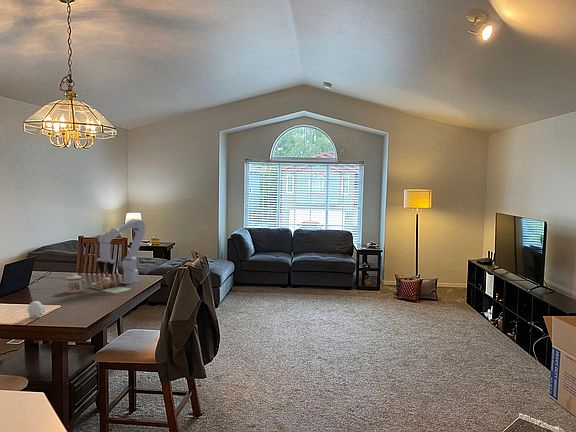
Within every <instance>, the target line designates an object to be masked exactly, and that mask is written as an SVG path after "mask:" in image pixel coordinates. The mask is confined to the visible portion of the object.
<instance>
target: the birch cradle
mask: <svg viewBox="0 0 576 432" xmlns="http://www.w3.org/2000/svg"><path fill="white" fill-rule="evenodd" d="M117 285H118V283H117V282H115V281H110V287H112V288H114V287H118V286H117ZM89 289H94V290H99V291H102V290H104V288H103V286H101V285H100V281H97V282H93V283H89Z"/></svg>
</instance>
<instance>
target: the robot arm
mask: <svg viewBox="0 0 576 432" xmlns="http://www.w3.org/2000/svg"><path fill="white" fill-rule="evenodd" d="M145 227H146V223H145V221H144V220H143V219H137V218H136V219H135V218H132V219H130V220H128V221H127V222H125V223H124V224H122V225H121V226H119V227H117V228H114V227H112V228H111V229H110V230H109V231H106V232H105V233H101V234H100V235H99V237H98V239H97V240H98V242H99V247H100V248H99V249H100V251H99V252H100V255H99V256H100V257H97V258H96V261H97V262H96V265H97V266H98V269H99V272H100V273H104V272H105V267H106V271H107V273H106V274H107V275H110V274H112V271H113V268H114V266H115V260H114V259H111V253H110V247H111V246H110V243H111V241H112V240H114V239H115V238H118V237H119V236H120V235H121V233H122V232H125V231H126V230H129V229H132V230H133V231H134V233H135V235H134V237H133V240H132V243H131V245H130V249H129V251H128V254H127V255H126V256H125V257H124V259H123V260H122V261H121V268H122V270H123V281H121V284H125V285H131V284H136V283H139V282H140V280H139V278H140V275H139V270H138V269H137V265H138V264H137V263H138V259H137V255H138V252H139V249H140V247H141V244H142V241H143V239H144V236H145Z"/></svg>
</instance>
